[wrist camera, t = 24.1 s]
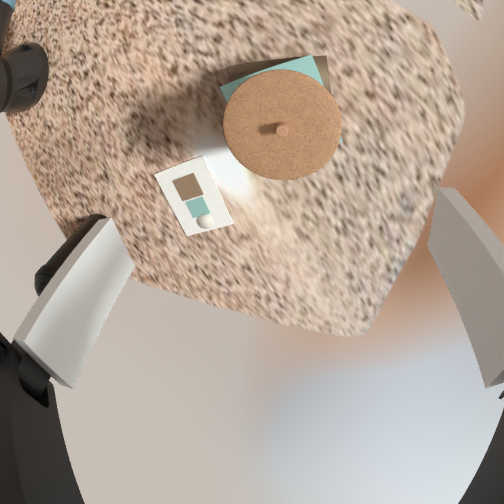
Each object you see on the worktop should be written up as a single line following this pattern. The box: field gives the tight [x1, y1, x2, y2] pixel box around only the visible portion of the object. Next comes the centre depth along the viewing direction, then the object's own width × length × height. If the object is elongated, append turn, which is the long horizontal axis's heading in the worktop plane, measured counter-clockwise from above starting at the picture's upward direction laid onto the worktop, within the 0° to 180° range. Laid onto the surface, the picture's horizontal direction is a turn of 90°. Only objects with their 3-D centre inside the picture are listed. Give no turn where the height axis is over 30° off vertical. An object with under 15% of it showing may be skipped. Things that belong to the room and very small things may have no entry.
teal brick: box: [220, 55, 342, 142], centre depth 32 cm, size 11×11×6 cm
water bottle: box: [35, 214, 107, 296], centre depth 49 cm, size 10×10×23 cm
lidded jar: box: [223, 69, 342, 180], centre depth 26 cm, size 11×11×9 cm
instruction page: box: [154, 156, 234, 236], centre depth 50 cm, size 14×10×1 cm
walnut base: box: [227, 56, 331, 94], centre depth 36 cm, size 13×13×5 cm
